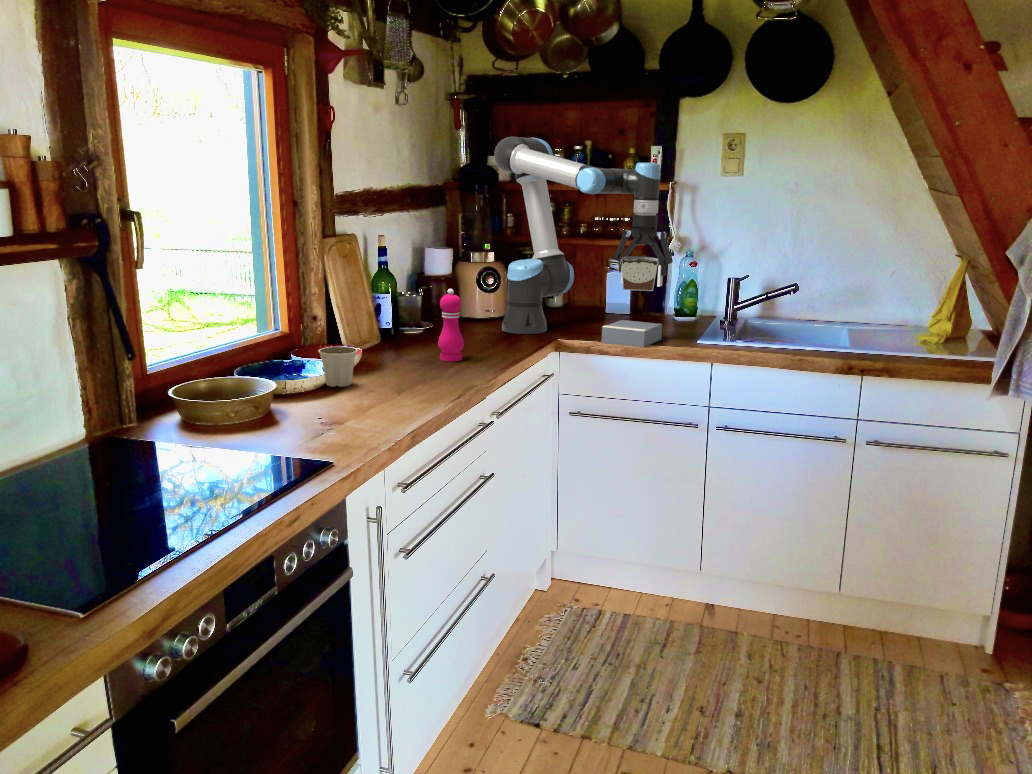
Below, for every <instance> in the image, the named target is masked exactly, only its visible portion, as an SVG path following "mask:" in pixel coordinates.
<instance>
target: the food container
mask: <svg viewBox="0 0 1032 774" xmlns="http://www.w3.org/2000/svg"><path fill="white" fill-rule="evenodd" d="M620 264H622V277H623V284H622V289H623V291H640V292H641V291H642V292H644V291H645V292H646V291H647V292H654V288H655V287H654V286H655V281H656V276H657V272H658V266H659V265H660V262H659V260H658V258H657V257H650V256H630V255H629V256H628V257H622V259H621V262H620Z"/></svg>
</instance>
